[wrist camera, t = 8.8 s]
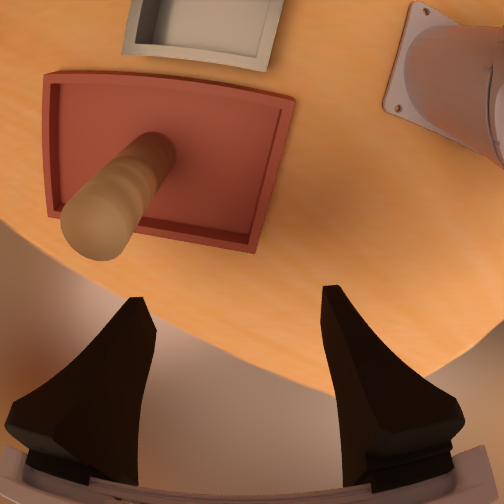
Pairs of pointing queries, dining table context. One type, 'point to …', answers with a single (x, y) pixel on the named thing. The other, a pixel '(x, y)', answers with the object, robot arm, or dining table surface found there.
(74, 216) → the dowel
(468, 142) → the robot arm
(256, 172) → the tray
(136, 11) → the grey open box
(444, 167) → the dining table surface
